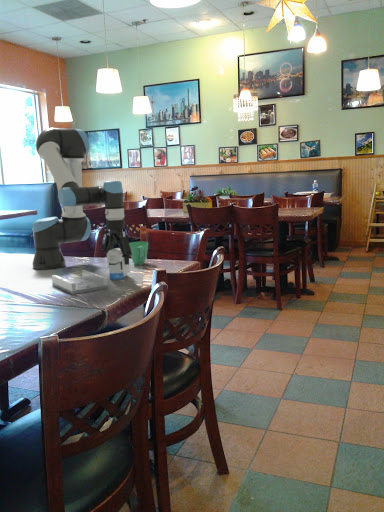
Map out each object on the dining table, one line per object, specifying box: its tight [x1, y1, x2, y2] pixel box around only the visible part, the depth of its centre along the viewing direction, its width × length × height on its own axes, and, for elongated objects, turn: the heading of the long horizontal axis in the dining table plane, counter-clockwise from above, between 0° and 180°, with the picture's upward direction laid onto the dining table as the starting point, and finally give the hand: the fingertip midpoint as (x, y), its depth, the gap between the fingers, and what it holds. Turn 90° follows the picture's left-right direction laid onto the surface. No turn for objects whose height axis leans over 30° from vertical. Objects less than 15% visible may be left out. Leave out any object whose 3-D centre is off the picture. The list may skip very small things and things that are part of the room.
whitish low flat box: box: [51, 269, 109, 295], centre depth 172 cm, size 20×14×4 cm
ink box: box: [108, 247, 128, 280], centre depth 185 cm, size 8×5×12 cm, turn 168°
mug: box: [129, 241, 149, 266], centre depth 212 cm, size 15×10×10 cm
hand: (118, 270), depth 186 cm, fingers open, 13 cm apart
